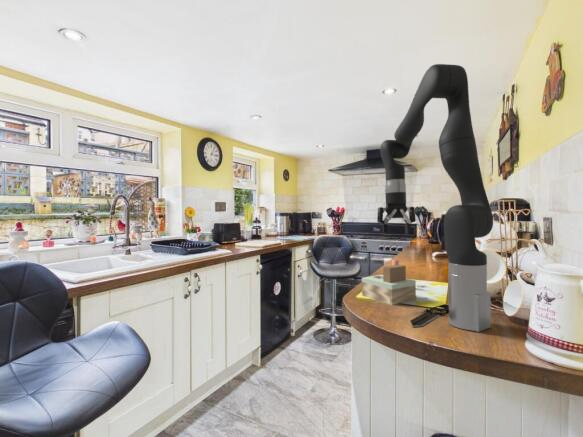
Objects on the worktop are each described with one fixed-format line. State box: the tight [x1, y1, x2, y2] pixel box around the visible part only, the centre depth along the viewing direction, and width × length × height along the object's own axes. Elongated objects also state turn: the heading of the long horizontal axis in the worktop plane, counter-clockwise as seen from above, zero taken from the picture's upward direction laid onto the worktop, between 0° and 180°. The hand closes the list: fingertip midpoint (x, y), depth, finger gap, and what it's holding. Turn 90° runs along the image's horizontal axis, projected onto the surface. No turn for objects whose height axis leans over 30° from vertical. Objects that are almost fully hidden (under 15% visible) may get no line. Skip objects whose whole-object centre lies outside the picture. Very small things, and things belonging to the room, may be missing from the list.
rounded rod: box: [391, 259, 399, 266], centre depth 125 cm, size 2×2×12 cm
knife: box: [410, 303, 449, 328], centre depth 94 cm, size 25×6×1 cm, turn 129°
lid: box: [361, 264, 417, 290], centre depth 111 cm, size 14×12×6 cm
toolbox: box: [361, 281, 417, 306], centre depth 111 cm, size 14×12×6 cm
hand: (396, 233), depth 120 cm, fingers open, 8 cm apart
